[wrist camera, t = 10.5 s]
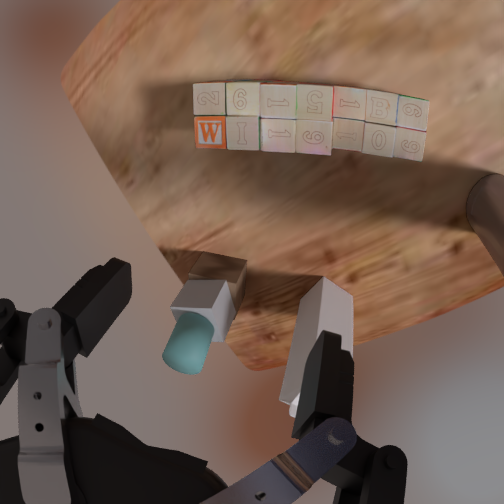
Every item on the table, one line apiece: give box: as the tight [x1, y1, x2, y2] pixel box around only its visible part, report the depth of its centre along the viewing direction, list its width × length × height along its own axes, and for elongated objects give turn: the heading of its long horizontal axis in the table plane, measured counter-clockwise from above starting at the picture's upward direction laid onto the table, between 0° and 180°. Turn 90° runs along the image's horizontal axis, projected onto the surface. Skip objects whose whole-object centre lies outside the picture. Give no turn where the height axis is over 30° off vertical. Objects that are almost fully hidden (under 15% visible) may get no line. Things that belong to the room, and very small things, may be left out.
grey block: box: [170, 280, 236, 342], centre depth 43 cm, size 6×6×6 cm
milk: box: [279, 276, 353, 418], centre depth 39 cm, size 6×6×22 cm
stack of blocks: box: [193, 79, 429, 162], centre depth 29 cm, size 21×6×12 cm, turn 90°
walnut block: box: [188, 251, 247, 320], centre depth 48 cm, size 7×7×6 cm
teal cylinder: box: [162, 313, 215, 374], centre depth 38 cm, size 5×5×6 cm
